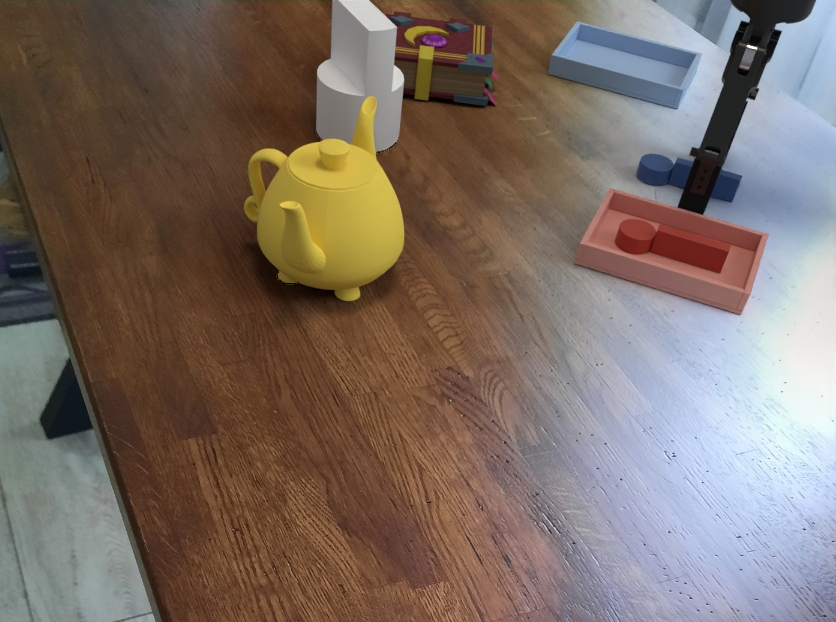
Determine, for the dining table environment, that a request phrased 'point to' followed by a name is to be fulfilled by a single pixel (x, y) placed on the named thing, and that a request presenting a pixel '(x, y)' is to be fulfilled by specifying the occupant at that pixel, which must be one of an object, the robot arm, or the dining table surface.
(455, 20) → the decorative book
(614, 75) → the blue tray
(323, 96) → the base with upright slab
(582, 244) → the pink tray
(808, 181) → the dining table surface
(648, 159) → the blue spoon
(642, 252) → the red spoon
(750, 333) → the dining table surface
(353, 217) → the teapot
